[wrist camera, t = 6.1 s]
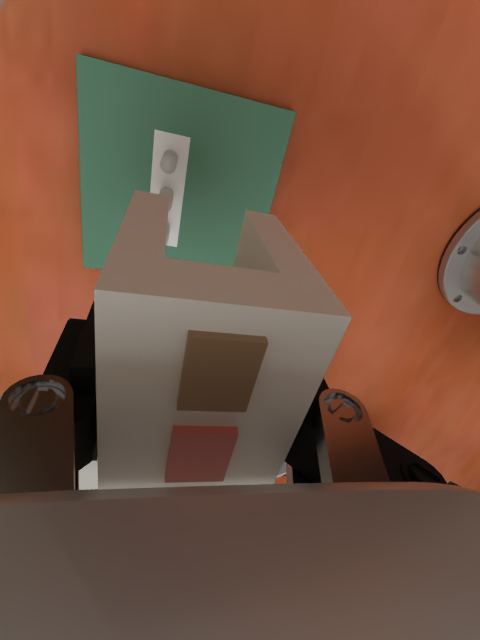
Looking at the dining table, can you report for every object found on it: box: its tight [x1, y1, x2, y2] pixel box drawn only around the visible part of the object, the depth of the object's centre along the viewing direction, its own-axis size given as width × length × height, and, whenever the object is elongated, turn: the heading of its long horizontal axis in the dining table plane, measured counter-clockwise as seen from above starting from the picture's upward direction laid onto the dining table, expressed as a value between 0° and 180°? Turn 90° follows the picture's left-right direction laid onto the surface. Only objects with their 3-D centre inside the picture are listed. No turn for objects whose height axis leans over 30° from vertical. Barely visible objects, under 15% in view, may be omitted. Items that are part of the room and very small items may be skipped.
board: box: [76, 53, 296, 269], centre depth 24 cm, size 14×14×4 cm
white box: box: [94, 190, 352, 489], centre depth 10 cm, size 4×8×6 cm, turn 168°
